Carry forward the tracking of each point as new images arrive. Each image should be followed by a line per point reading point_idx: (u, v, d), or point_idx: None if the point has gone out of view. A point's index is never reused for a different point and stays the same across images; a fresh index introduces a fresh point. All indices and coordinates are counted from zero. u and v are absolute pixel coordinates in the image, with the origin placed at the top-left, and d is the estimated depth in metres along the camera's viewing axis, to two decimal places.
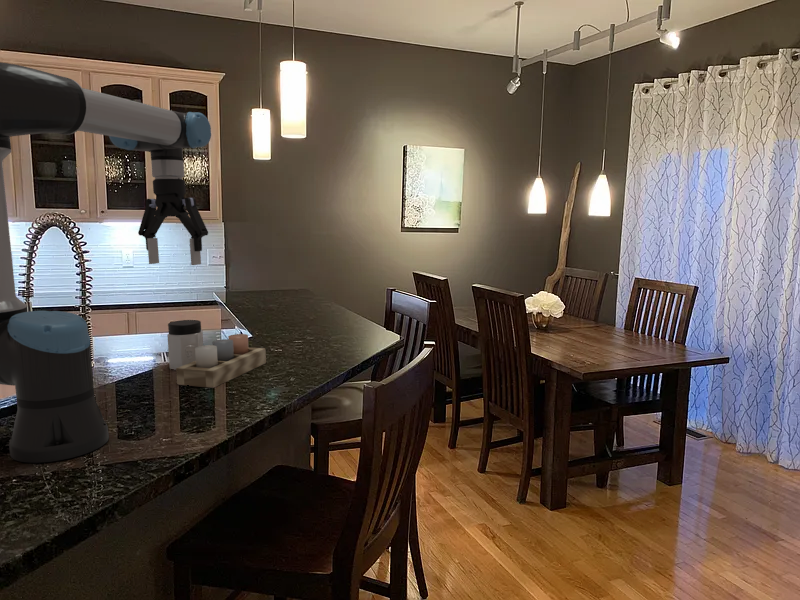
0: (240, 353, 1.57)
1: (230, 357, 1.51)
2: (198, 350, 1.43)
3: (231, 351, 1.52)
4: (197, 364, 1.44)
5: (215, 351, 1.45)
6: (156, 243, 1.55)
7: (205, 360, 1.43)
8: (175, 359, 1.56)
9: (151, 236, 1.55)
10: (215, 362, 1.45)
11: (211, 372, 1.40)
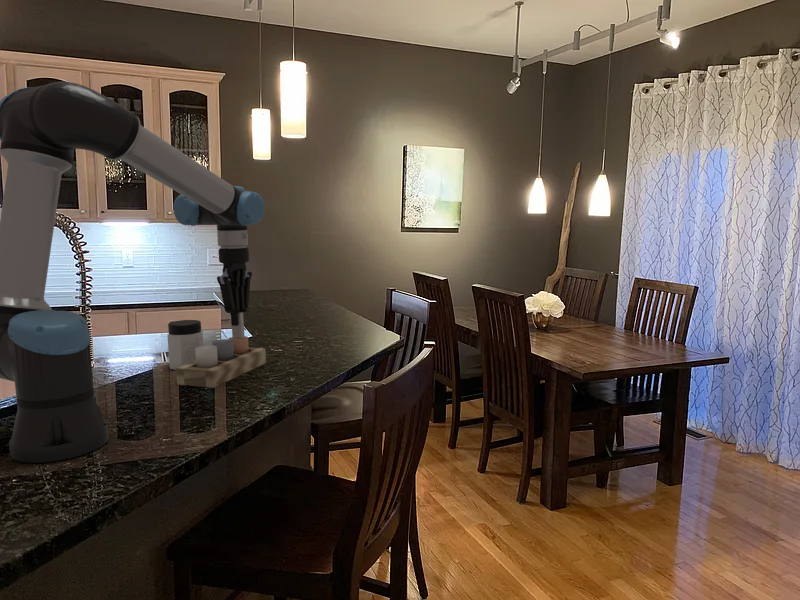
0: None
1: (230, 357, 1.51)
2: (198, 350, 1.43)
3: (231, 351, 1.52)
4: (197, 364, 1.44)
5: (215, 351, 1.45)
6: None
7: (205, 360, 1.43)
8: (175, 359, 1.56)
9: (238, 309, 1.58)
10: (215, 362, 1.45)
11: (211, 372, 1.40)
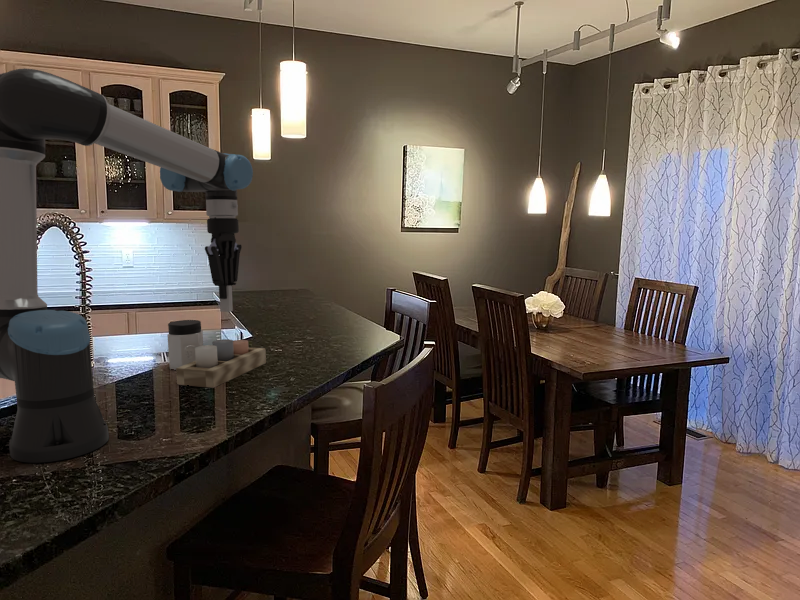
0: None
1: (230, 357, 1.51)
2: (198, 350, 1.43)
3: (231, 351, 1.52)
4: (197, 364, 1.44)
5: (215, 351, 1.45)
6: None
7: (205, 360, 1.43)
8: (175, 359, 1.56)
9: None
10: (215, 362, 1.45)
11: (211, 372, 1.40)
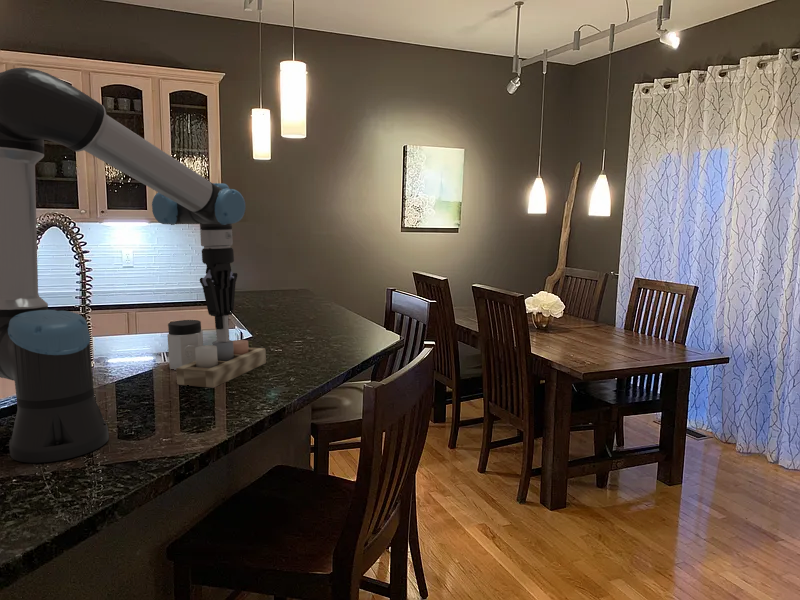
0: None
1: (230, 358, 1.51)
2: (198, 350, 1.43)
3: (231, 352, 1.52)
4: (197, 364, 1.44)
5: (215, 351, 1.45)
6: None
7: (205, 360, 1.43)
8: (175, 359, 1.56)
9: None
10: (215, 362, 1.45)
11: (211, 372, 1.40)
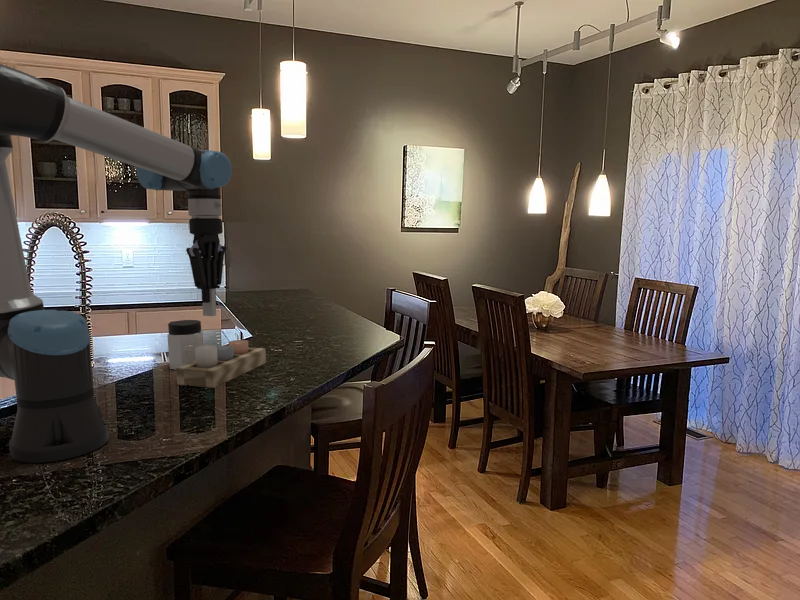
0: None
1: None
2: (198, 350, 1.43)
3: (232, 357, 1.52)
4: (197, 364, 1.44)
5: (215, 351, 1.45)
6: None
7: (205, 360, 1.43)
8: (175, 359, 1.56)
9: None
10: (215, 362, 1.45)
11: (211, 372, 1.40)
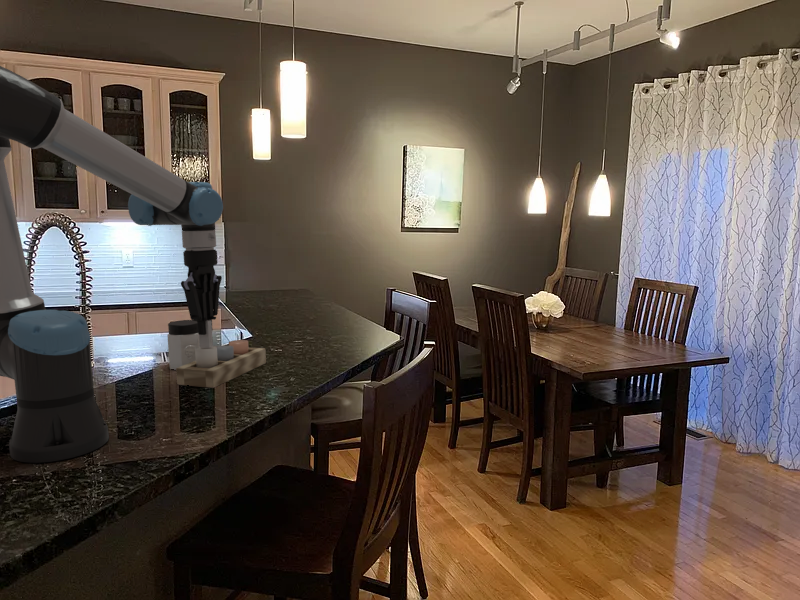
0: None
1: None
2: (198, 351, 1.43)
3: (232, 357, 1.52)
4: (197, 365, 1.44)
5: (215, 352, 1.45)
6: None
7: (205, 361, 1.43)
8: (175, 359, 1.56)
9: (206, 316, 1.45)
10: (215, 363, 1.45)
11: (211, 372, 1.40)
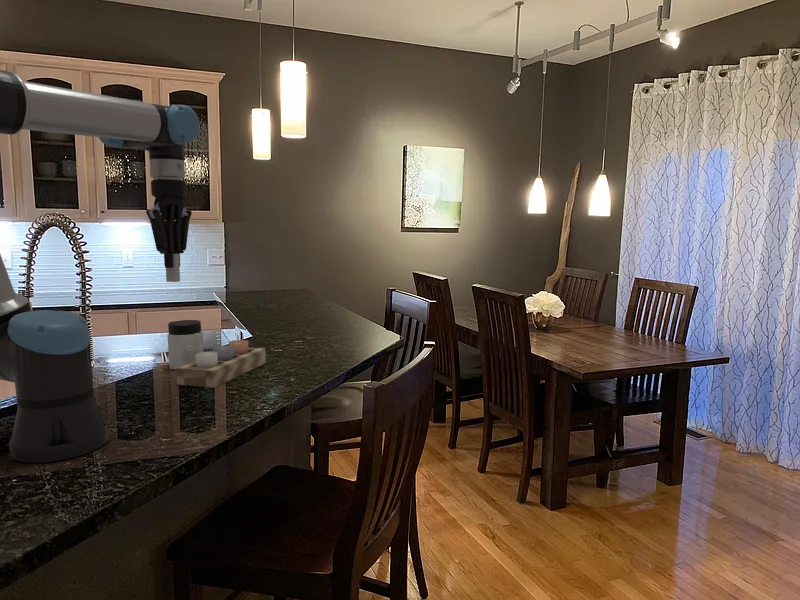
0: None
1: None
2: (198, 357, 1.43)
3: (232, 357, 1.52)
4: None
5: (215, 357, 1.45)
6: None
7: (205, 367, 1.44)
8: (175, 359, 1.56)
9: (174, 250, 1.42)
10: None
11: (211, 372, 1.40)
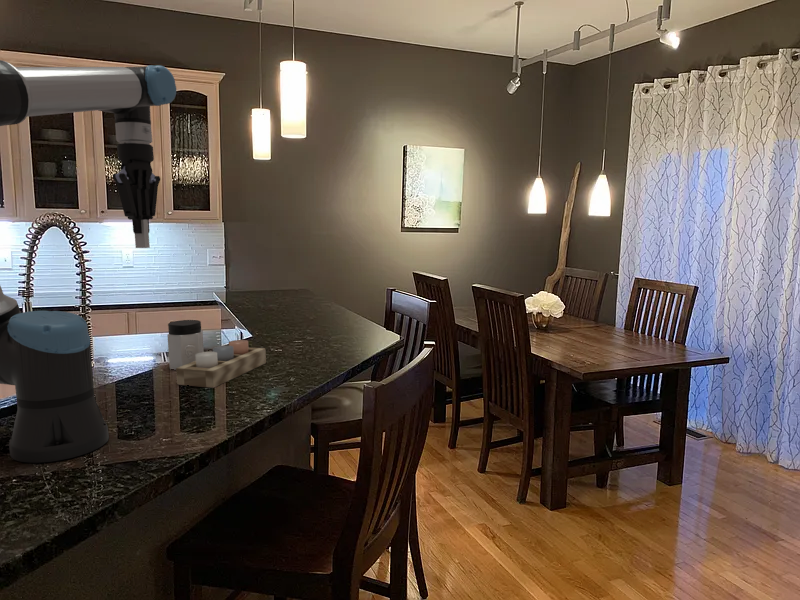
0: None
1: None
2: (198, 357, 1.43)
3: (232, 357, 1.52)
4: None
5: (215, 357, 1.45)
6: None
7: (205, 367, 1.44)
8: (175, 359, 1.56)
9: (142, 215, 1.40)
10: None
11: (211, 372, 1.40)
